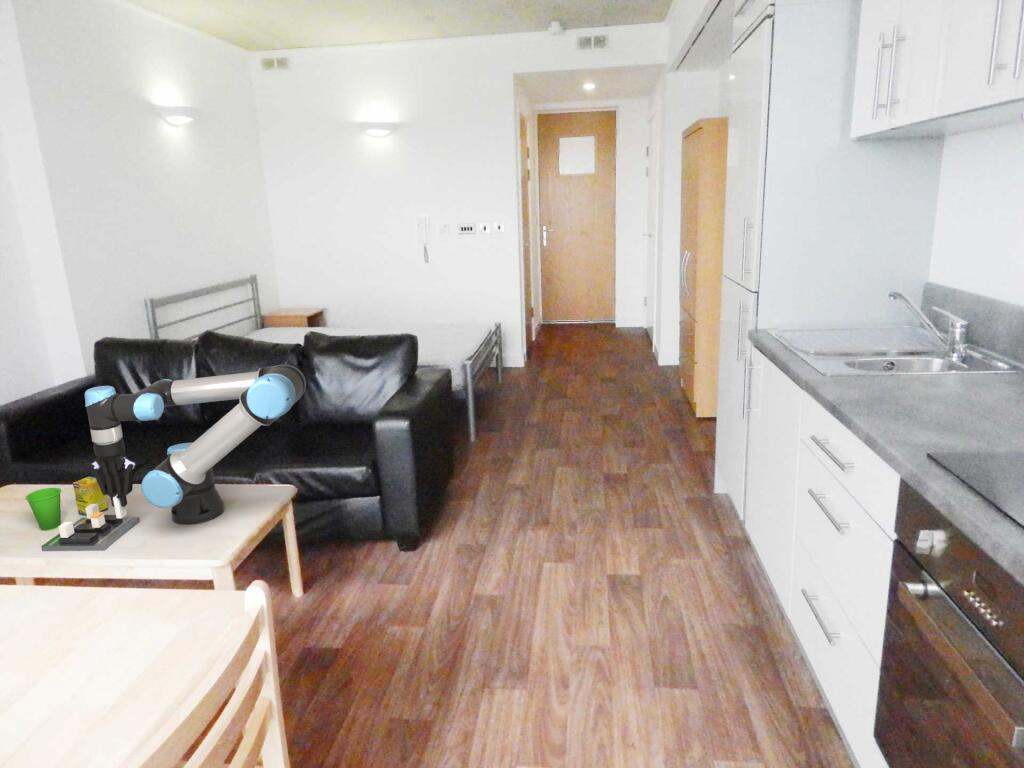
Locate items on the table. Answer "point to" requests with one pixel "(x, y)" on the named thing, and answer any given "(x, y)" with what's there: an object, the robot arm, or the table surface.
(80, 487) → the supplement box
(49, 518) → the cup
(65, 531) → the handle
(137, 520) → the panel
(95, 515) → the handle
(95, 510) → the handle
